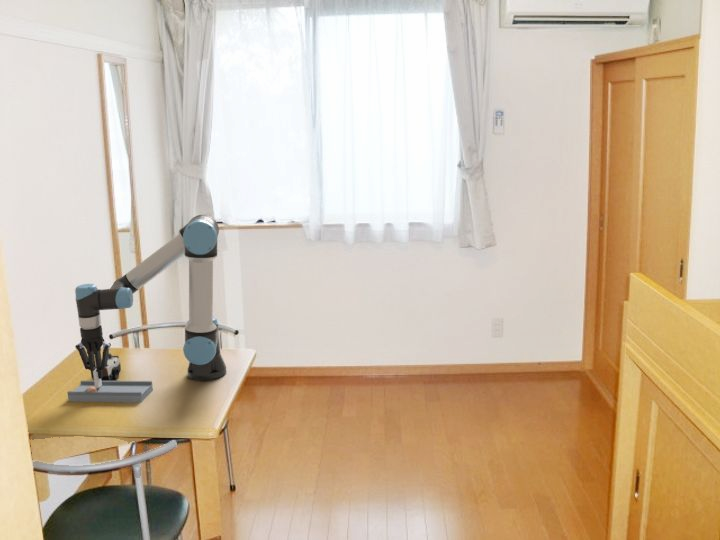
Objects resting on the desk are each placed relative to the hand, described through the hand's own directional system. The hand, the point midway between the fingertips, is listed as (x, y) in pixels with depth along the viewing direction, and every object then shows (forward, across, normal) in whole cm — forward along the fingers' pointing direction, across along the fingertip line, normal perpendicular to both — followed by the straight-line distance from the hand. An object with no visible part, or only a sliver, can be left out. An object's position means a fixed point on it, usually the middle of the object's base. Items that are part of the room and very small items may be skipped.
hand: (98, 386), depth 280 cm
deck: (+4, -4, 0) cm, 6 cm away
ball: (+2, +3, 0) cm, 3 cm away
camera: (+4, +4, -18) cm, 19 cm away
